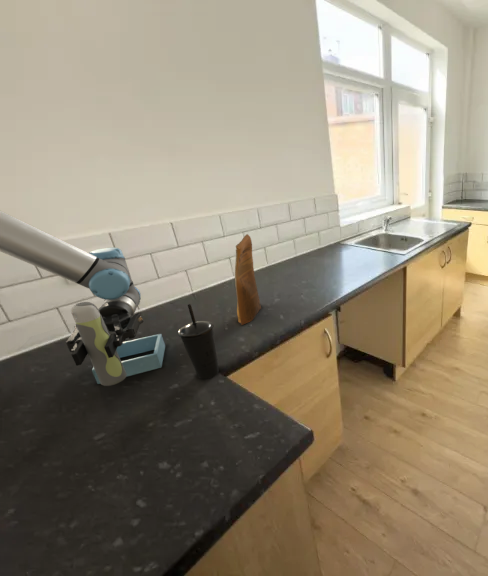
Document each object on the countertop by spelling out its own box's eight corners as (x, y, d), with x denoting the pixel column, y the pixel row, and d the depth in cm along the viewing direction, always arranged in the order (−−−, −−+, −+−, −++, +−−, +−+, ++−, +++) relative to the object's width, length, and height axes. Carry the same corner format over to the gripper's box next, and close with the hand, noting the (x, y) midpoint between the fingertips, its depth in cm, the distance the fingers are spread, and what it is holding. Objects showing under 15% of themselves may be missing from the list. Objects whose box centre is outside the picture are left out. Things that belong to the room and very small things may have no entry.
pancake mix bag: (269, 303, 124) (256, 232, 114) (253, 327, 106) (236, 245, 96) (251, 304, 124) (237, 233, 113) (232, 328, 106) (213, 246, 96)
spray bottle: (96, 385, 74) (60, 307, 66) (118, 372, 78) (86, 298, 70) (111, 388, 72) (76, 309, 65) (132, 375, 76) (102, 300, 69)
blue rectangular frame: (98, 384, 80) (91, 370, 79) (109, 359, 91) (103, 346, 89) (161, 368, 86) (156, 353, 85) (165, 346, 97) (161, 333, 95)
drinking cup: (184, 381, 81) (162, 310, 73) (207, 363, 87) (188, 297, 80) (210, 385, 79) (189, 313, 71) (231, 367, 86) (214, 299, 78)
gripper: (158, 317, 91) (148, 358, 72) (79, 334, 83) (44, 384, 64) (150, 293, 88) (137, 329, 69) (67, 308, 81) (27, 353, 62)
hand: (92, 355), depth 67 cm, fingers closed on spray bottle, 5 cm apart
